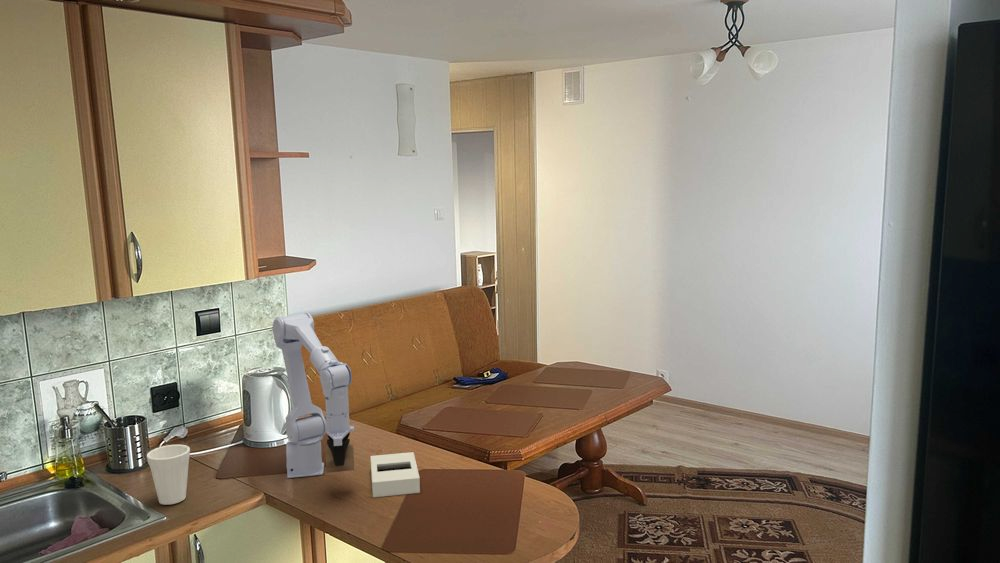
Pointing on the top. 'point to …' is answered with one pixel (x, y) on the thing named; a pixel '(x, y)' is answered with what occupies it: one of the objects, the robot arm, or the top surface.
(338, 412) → the robot arm
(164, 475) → the cup
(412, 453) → the slotted box
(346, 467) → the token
